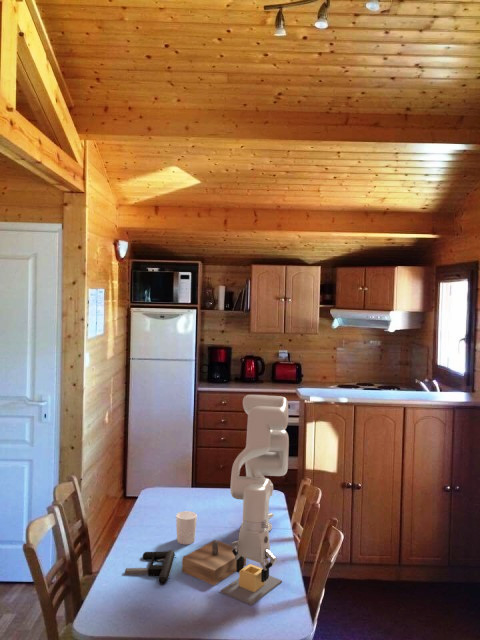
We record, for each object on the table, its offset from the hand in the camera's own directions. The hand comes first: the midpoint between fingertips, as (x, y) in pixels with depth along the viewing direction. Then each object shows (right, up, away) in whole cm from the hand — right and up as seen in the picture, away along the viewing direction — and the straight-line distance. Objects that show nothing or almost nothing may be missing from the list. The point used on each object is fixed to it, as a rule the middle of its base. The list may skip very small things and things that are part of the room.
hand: (252, 575), depth 175 cm
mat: (0, -4, 0) cm, 4 cm away
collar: (0, -3, 0) cm, 3 cm away
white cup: (-25, -2, +32) cm, 41 cm away
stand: (-13, -3, +11) cm, 17 cm away
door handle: (-34, -3, +9) cm, 36 cm away
